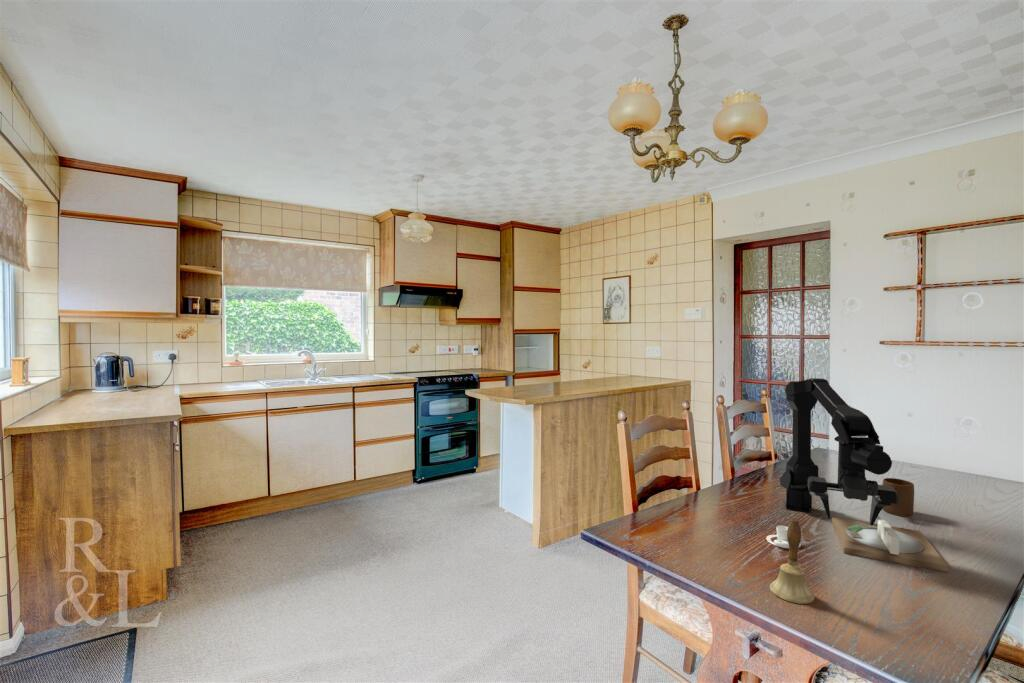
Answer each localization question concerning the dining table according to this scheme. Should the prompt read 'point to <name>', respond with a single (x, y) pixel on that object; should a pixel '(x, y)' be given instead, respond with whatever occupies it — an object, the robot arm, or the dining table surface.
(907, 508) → the mug
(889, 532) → the dial pointer lever
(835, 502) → the dining table surface
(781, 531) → the teacup and saucer
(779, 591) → the hand bell
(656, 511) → the dining table surface
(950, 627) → the dining table surface
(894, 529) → the tuner board
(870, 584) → the dining table surface
